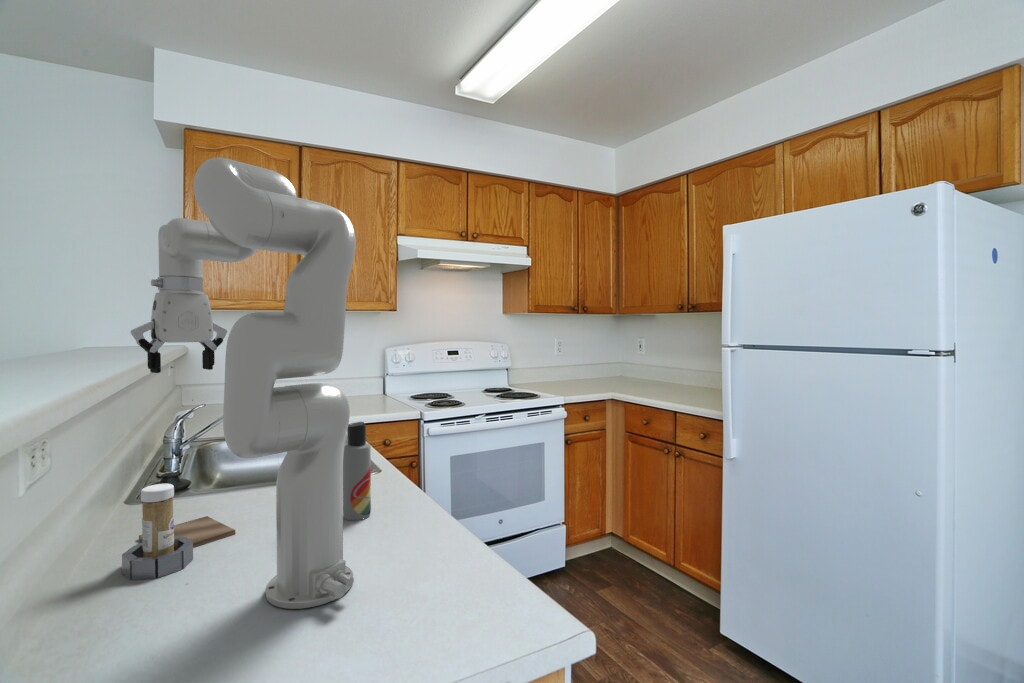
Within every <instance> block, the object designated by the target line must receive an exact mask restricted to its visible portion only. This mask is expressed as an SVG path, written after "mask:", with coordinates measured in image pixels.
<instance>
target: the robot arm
mask: <svg viewBox="0 0 1024 683" xmlns="http://www.w3.org/2000/svg"><path fill="white" fill-rule="evenodd" d="M192 184H193V186H192V188H193V194H194V199H195V202H196V203H197V205H198V207H199V208H200V210H201V211H202V212H203V213H204V215H205V216H206V217H207V218H208V220H209V221H205V220H198V219H191V218H185V217H182V218H181V217H177V218H173V219H171V220H170V221H168V223H167V224H164V225H161V226H160V227H159V229H158V236H157V237H158V241H157V242H158V277H157V278H156V279H151V280H150V285H151V286H152V287H156V288H157V290H158V292H155V294H154V298H153V302H152V303H153V304H152V309H151V317H150V321H149V322H146V323H144V324H142V325H139V326H137V327H135V328H133V329H131V330H130V334H131V335H132V337H133V339H134V340H135V341H136V345H138V346H139V347H141V349H142V350H144V351H145V352H146V353H147V368H148V369H149V370H150V373H154V374H160V373H161V371H162V365H161V363H162V362H161V355H162V354H161V353H160V352H159V350H160V348H161V347H162V346H163V345H164V344H165V343H168V344H171V343H174V344H175V343H176V344H177V343H179V344H180V343H199V344H200V345H201V346H202V347H203V348H204V350H202V354H201V355H202V369H203V370H209V371H211V370H213V369H214V365H215V351H217V349H218V348H219V346H220V345H221V344H222V343H224V339H225V338H226V335H227V334H228V330H227V329H226V328H223V327H222V326H219V325H218V324H215V323H214V322H213V315H212V306H211V303H210V302H211V301H210V298H209V296H208V294H204V268H203V267H204V266H203V265H204V264H203V263H204V261H211V262H219V263H220V262H221V263H237V262H242V261H244V260H246V259H248V258H250V257H252V256H253V255H255V254H256V252H257V251H258V250H261V251H269V252H274V253H276V252H277V253H285V254H292V255H293V254H295V255H302V256H303V257H302V259H300V260H299V262H298V263H297V264H296V265H295V267H294V268H293V270H292V271H291V272H290V274H289V276H288V278H287V280H286V281H287V282H286V285H285V286H286V287H285V300H284V309H283V311H282V312H281V311H280V312H278V311H275V312H274V311H257V312H256V311H255V312H250V313H248V314H247V313H246V314H245V315H242V316H241V317H240V318H238V319H237V320H236V321H235V323H234V324H233V325H232V327H231V330H230V332H229V334H228V337H227V342H226V349H225V359H224V360H225V364H224V384H223V385H224V388H223V411H222V412H223V413H222V418H223V419H222V422H223V423H222V424H223V425H222V426H223V436H224V440H225V443H226V446H227V448H228V449H229V450H230V452H231V453H232V454H233V455H234V456H236V457H238V458H241V459H257V458H263V457H268V456H273V455H278V454H282V453H286V454H285V456H284V458H283V459H282V462H281V464H280V466H279V468H278V472H277V476H276V483H275V486H276V487H275V488H276V489H275V490H276V491H275V492H276V495H275V499H276V500H275V501H276V502H275V505H276V507H275V508H276V510H275V511H276V517H275V518H276V519H275V520H276V526H275V527H276V575H274V576H273V577H272V578H271V580H270V581H268V582H267V584H266V586H265V598H266V600H267V602H268V603H270V604H271V605H273V606H274V607H277V608H281V609H288V610H300V609H308V608H309V609H310V608H314V607H318V606H322V605H325V604H328V603H331V602H332V601H335V600H337V599H342V598H343V597H344V596H345V594H346V593H347V592H348V591H349V590H350V589H351V587H352V586H353V584H354V582H355V580H354V572H353V570H352V569H351V568H350V567H349V566H347V565H346V560H344V525H343V524H344V517H343V455H344V446H345V445H346V438H347V429H348V425H349V424H350V404H349V401H348V398H347V397H346V395H345V393H344V392H343V391H342V390H341V389H339V388H338V387H336V386H334V385H331V384H327V383H319V382H317V383H303V384H302V383H301V384H291V385H285V386H277V387H275V383H276V381H277V380H285V379H294V378H295V379H296V378H306V377H309V378H310V377H316V376H322V375H327V374H330V373H332V372H334V371H336V370H337V368H338V367H339V366H340V363H341V361H342V358H343V352H344V342H345V328H346V327H345V326H346V314H347V311H346V310H347V293H348V292H347V291H348V283H349V281H350V280H349V279H350V275H351V271H352V267H353V263H354V260H355V256H356V250H357V249H356V248H357V239H356V232H355V229H354V225H353V223H352V222H351V220H350V219H349V217H348V216H347V215H346V214H345V213H344V212H342V211H341V210H340V209H338V208H336V207H333V206H332V205H329V204H326V203H322V202H319V201H314V200H311V199H307V198H301V197H297V192H296V189H295V187H294V186H293V184H292V183H291V182H290V180H289V179H287V178H286V177H285V176H284V175H283V174H281V173H279V172H277V171H275V170H273V169H272V170H271V169H269V168H265V167H261V166H256V165H253V164H249V163H246V162H242V161H237V160H234V159H231V158H225V157H213V158H209V159H207V160H206V161H204V162H203V163H201V164H200V166H199V167H198V169H197V171H196V172H195V174H194V178H193V183H192ZM148 331H150V337H151V341H150V342H149V341H148V340H147V339H146V338H145V337H144V334H145V333H147V332H148ZM214 332H215V333H216V335H215V338H214Z"/></svg>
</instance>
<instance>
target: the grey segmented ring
mask: <svg viewBox="0 0 1024 683" xmlns="http://www.w3.org/2000/svg"><path fill="white" fill-rule="evenodd" d="M193 560H194V547H193V541H191V540H190V539H188V538H186V537H183V536H180V537H174V551H173V552H170V553H167V554H164V555H161V556H158V557H144V555H143V542H141V543H136V545H133V546H131V547H130V548H129V549H127V550H126V551H124V552H123V553H122V554H121V574H122V575H123V574H124V576H125V577H126V578H127V579H128V580H131V581H136V580H138V581H139V580H149V579H153V580H154V579H157V578H158V579H159V578H162V577H164V576H168V575H170V574H172V573H176V572H179V571H182V569H185V568H186V567H187V566H188V565H189V564H190V563H191V562H192V561H193Z"/></svg>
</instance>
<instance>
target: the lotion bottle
mask: <svg viewBox="0 0 1024 683" xmlns="http://www.w3.org/2000/svg"><path fill="white" fill-rule="evenodd" d="M346 438H347V441H346V442H347V443H346V444H345V446H344V455H343V519H345V520H346V519H347V521H360V520H359V519H362V520H364V519H363V518H365V519H367V518H369V517H370V516H369V515H371V512H372V511H371V510H372V508H371V507H372V502H371V501H372V497H371V496H372V490H371V489H372V487H371V486H372V484H371V483H372V482H371V481H372V479H371V478H372V477H371V476H372V475H371V474H372V473H371V472H372V471H371V470H372V468H371V466H372V461H371V460H372V458H371V457H372V456H371V454H372V453H371V452H372V451H371V448H372V447H371V444H370V443H367V425H366V424H365V422H364V421H358V422H352V423H349V424H348V429H347V434H346ZM368 516H369V517H368ZM366 517H367V518H366Z"/></svg>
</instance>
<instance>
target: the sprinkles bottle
mask: <svg viewBox="0 0 1024 683" xmlns="http://www.w3.org/2000/svg"><path fill="white" fill-rule="evenodd" d="M174 496H175V486H174V485H173V483H172V484H171V483H158V484H157V483H156V484H152V485H147V486H145V487H144V488H142V489H141V490H140V501H141V504H142V506H141V508H142V518H141V523H142V524H141V525H142V526H141V527H142V528H141V530H142V532H141V534H142V539H143V542H142V543H143V555H144V557H158V556H161V555H164V554H167V553H170V552H173V551H174V525H175V522H174V520H175V519H174V500H173V499H174Z"/></svg>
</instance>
